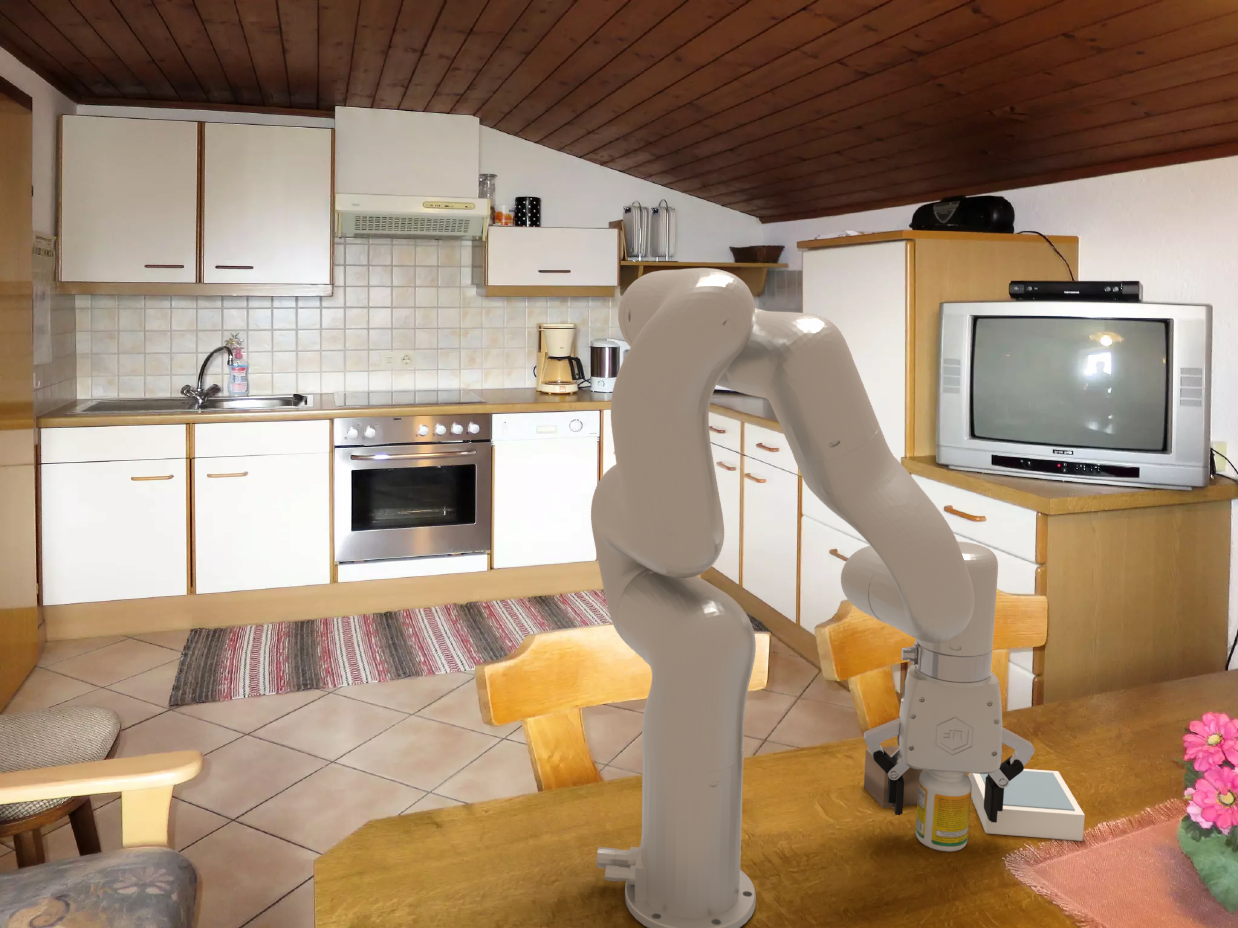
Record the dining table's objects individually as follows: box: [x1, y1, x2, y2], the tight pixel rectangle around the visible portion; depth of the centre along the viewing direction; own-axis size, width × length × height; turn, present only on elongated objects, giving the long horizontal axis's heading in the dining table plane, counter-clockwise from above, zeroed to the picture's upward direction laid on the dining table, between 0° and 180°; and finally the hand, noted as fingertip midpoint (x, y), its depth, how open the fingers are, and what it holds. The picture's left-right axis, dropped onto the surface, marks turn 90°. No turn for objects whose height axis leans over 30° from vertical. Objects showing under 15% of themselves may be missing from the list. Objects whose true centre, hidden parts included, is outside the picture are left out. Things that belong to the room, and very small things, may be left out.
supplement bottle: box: [915, 770, 972, 852], centre depth 106 cm, size 5×5×10 cm
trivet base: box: [968, 768, 1086, 842], centre depth 112 cm, size 10×10×3 cm
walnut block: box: [863, 745, 923, 809], centre depth 116 cm, size 5×5×5 cm
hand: (943, 812), depth 106 cm, fingers open, 9 cm apart
